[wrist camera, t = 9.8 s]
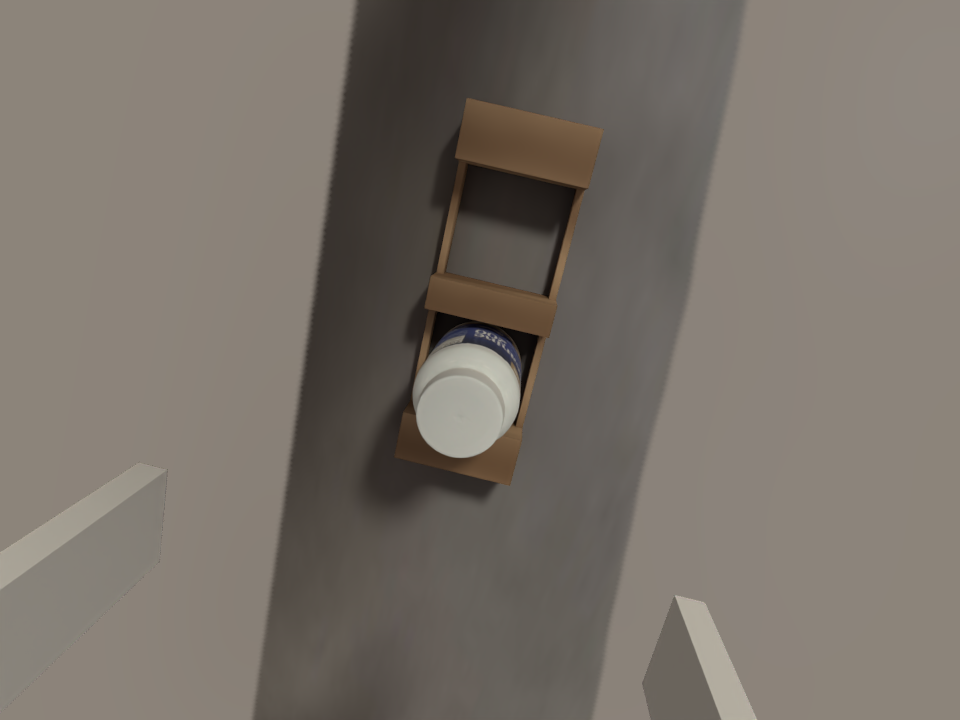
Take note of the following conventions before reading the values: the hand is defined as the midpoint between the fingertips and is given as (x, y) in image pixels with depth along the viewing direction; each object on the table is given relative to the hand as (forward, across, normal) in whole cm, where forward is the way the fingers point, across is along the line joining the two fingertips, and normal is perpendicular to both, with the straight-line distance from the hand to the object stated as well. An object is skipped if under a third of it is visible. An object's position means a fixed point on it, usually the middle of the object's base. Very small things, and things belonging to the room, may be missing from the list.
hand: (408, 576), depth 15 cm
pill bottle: (+22, 0, 0) cm, 22 cm away
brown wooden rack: (+22, 0, +4) cm, 22 cm away
